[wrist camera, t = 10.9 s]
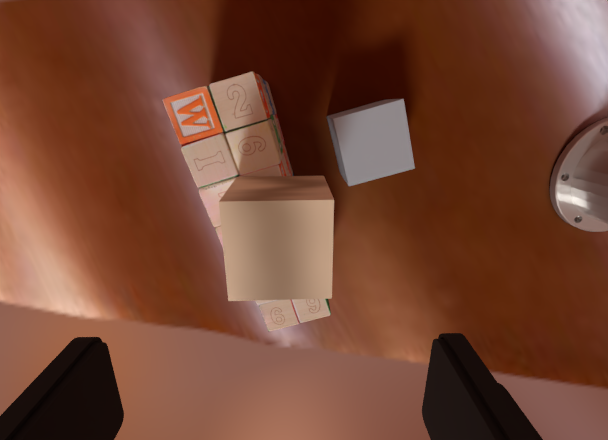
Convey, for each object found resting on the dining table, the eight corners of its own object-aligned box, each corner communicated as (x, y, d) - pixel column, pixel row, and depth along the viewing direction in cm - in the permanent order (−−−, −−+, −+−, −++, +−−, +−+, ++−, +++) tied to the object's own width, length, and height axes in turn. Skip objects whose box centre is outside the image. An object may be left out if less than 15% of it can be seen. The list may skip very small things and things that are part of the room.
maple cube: (323, 175, 23) (334, 199, 17) (322, 254, 25) (331, 298, 19) (236, 176, 23) (218, 201, 17) (243, 255, 25) (228, 301, 19)
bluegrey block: (384, 99, 33) (403, 98, 27) (395, 157, 35) (414, 168, 29) (326, 116, 33) (333, 118, 28) (340, 173, 35) (348, 186, 30)
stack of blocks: (323, 269, 39) (335, 339, 28) (272, 282, 40) (263, 357, 28) (267, 80, 32) (253, 68, 21) (206, 99, 33) (159, 97, 21)
